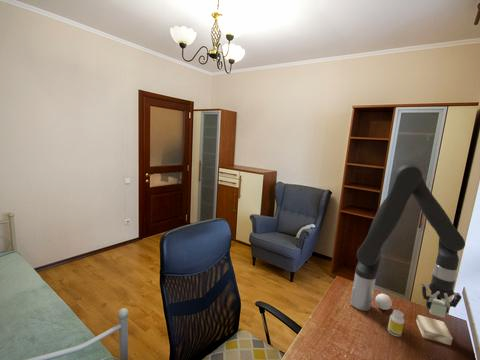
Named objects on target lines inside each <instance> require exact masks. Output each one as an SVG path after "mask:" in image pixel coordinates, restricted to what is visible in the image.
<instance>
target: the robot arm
mask: <svg viewBox="0 0 480 360" xmlns="http://www.w3.org/2000/svg"><path fill="white" fill-rule="evenodd" d="M411 196H413V198H414V199H415V201H416V203H417V205H418V206H419V209H420V210H421V212H422V214H423V215H424V217H425V219H426V220H427V222H428V223H429V225H430V226H431V227H432V229H433V230H434V231H435V232H436V234H437V237H438V248H437V249H438V252H437V256H436V260H435V264H434V267H433V269H432V277H431V280H430V283H429V284H428V285H427V284H424V283H422V284H421V293H422V294H421V295H422V297H423V299H424V300H425V301H426V302H425V307H426V308H427V309H428V310H429V309H430V307H431V301H432V300H433V299H437V298H440V299H444V300H443V301H444V303H445V305H446V307H447V310H446V314H449V310H450V308H451V307H453V308H456V307H457V305H459V303H460V301H461V300H462V296H461V294H460V293H459V292H454V288H455V285H456V280H457V274H458V273H457V271H458V267H459V261H460V257H459V255H458V253H459V252H460V251H462V250H463V249H465V247H466V242H465V239H464V237H463V235H461V233H460V232H459V230H457V228H456V226H454V224H453V223H452V221H451V219H450V217H449V216H448V214H447V213H446V211H445V210H444V208H443V207H442V205H441V204H440V203H439V201H438V200H437V199H436V197H435V196H434V195H433V194H432V192H431V191H430V189H429V188H428V186H427V184H426V182H425V180H424V177H423V172H422V169H420V167H419V166H417V165H415V164H414V163H405V164H402V165H400V166H399V167H398V168H397V170H396V172H395V178H394V182H393V185H392V187H391V190H390V192H389V194H388V195H387V196H386V197H385V199H384V200H383V201H382V203H381V204H380V206H379V208H378V209H377V211H376V214H375V215H374V218H373V220H372V222H371V225H370V227H369V230H368V233H367V235H366V237H365V239H364V241H363V242H362V244H361V245H360V246H359V247H358V249H357V251H356V258H357V260H358V261H357V263H356V267H355V273H354V278H353V284H352V289H351V296H350V306H353V307H354V308H355V309H357V310H358V311H359V310H360V311H363V312H367V311H370V310H371V307H372V301H373V297H374V291H375V285H376V280H377V279H376V278H377V274H378V271H379V266H380V261H381V257H382V256H381V255H382V254H381V253H382V252H381V250H382V247H383V246H384V244H385V243H386V241H387V240H388V238H389V237H390V236H391V234H392V233H393V232H394V231H395V228H396V227H397V225H398V223H399V222H400V220H401V218H402V215H403V214H404V211H405V209H406V207H407V203H408V201H409V199H410V197H411ZM428 290H430V292H429V294H428V295H427V291H428ZM452 296H453V298H452V300H451V301H450V299H449V298H450V297H452Z"/></svg>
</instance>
